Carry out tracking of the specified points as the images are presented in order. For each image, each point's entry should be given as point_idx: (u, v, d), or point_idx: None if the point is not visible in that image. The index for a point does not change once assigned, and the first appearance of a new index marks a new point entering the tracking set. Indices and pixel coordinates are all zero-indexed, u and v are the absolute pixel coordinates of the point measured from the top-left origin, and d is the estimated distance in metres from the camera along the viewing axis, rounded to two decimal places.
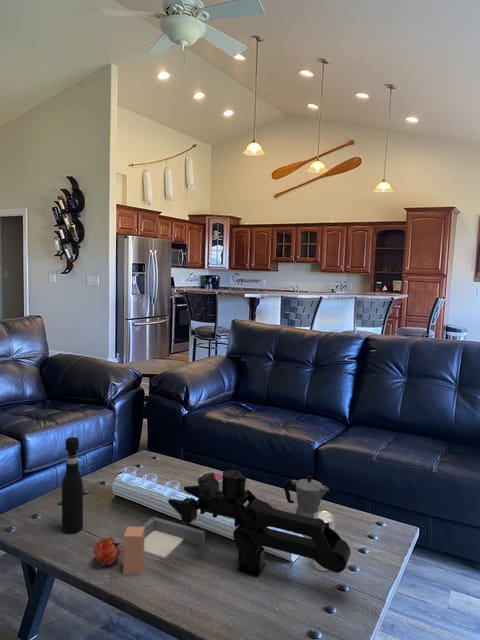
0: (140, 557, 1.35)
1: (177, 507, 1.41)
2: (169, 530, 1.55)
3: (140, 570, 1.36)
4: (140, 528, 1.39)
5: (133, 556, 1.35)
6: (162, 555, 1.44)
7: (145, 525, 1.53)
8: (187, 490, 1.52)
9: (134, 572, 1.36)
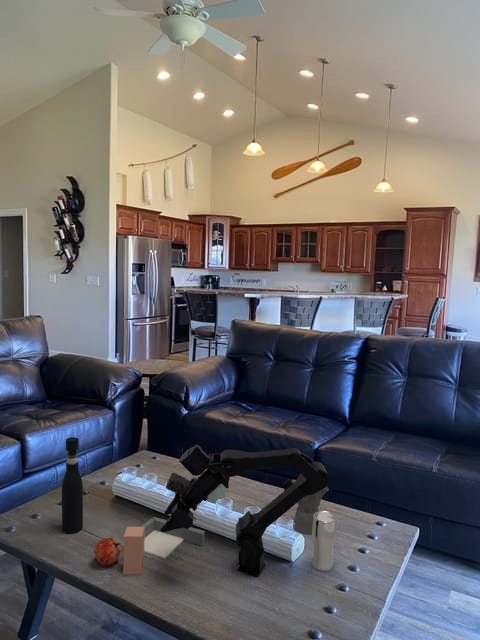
0: (140, 557, 1.35)
1: (172, 525, 1.31)
2: None
3: (140, 570, 1.36)
4: (140, 528, 1.39)
5: (133, 556, 1.35)
6: (162, 555, 1.44)
7: (145, 525, 1.53)
8: (169, 512, 1.42)
9: (134, 572, 1.36)
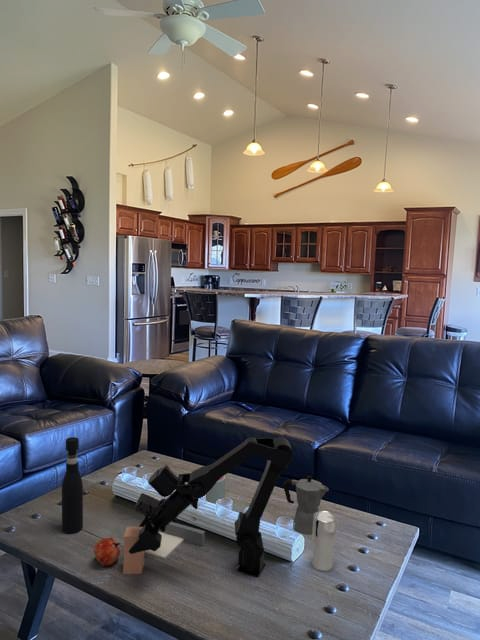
0: (140, 557, 1.35)
1: (140, 547, 1.32)
2: (169, 530, 1.55)
3: (140, 570, 1.36)
4: (140, 528, 1.39)
5: (133, 556, 1.35)
6: (162, 555, 1.44)
7: None
8: None
9: (134, 572, 1.36)
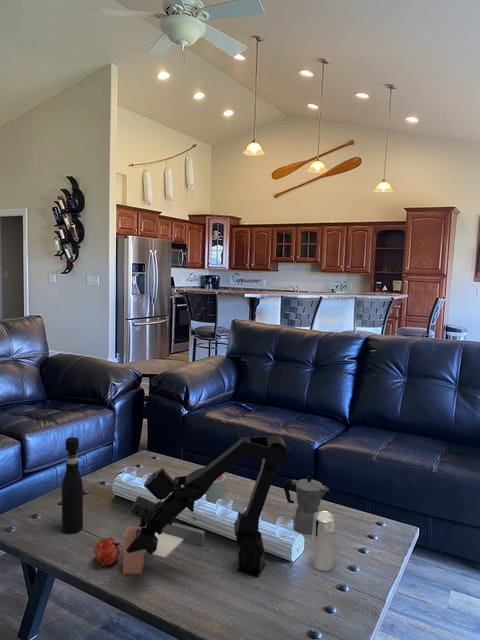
0: (140, 557, 1.35)
1: (138, 546, 1.34)
2: (169, 530, 1.55)
3: (140, 570, 1.36)
4: (140, 528, 1.39)
5: (133, 556, 1.35)
6: (162, 555, 1.44)
7: None
8: None
9: (133, 572, 1.36)
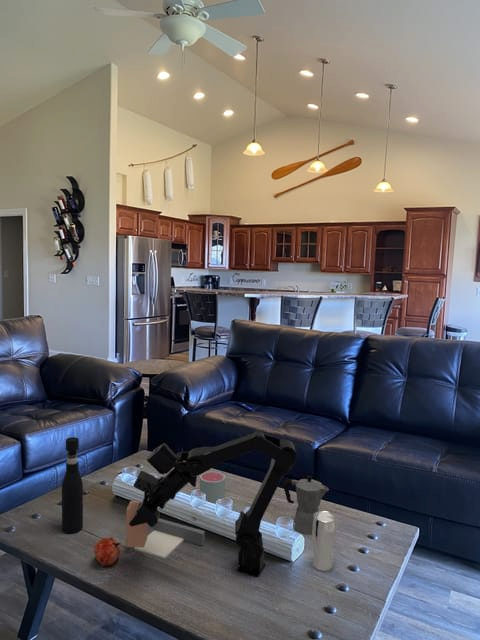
0: (142, 531, 1.36)
1: (140, 520, 1.34)
2: (169, 530, 1.55)
3: (142, 544, 1.36)
4: None
5: (135, 530, 1.36)
6: (162, 555, 1.44)
7: None
8: None
9: (136, 545, 1.37)
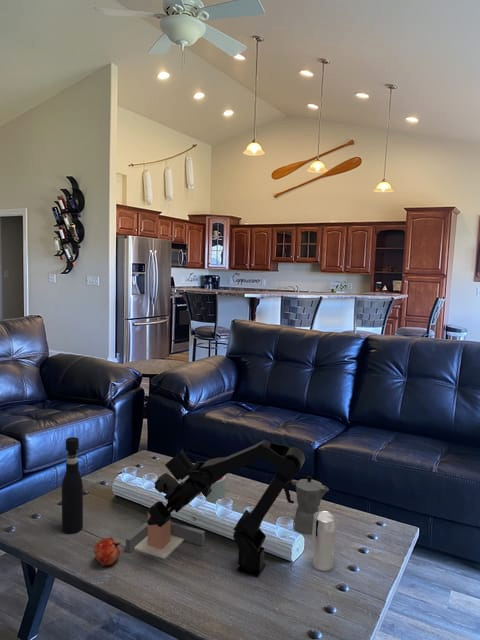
0: (160, 534, 1.46)
1: (154, 520, 1.43)
2: None
3: (160, 546, 1.47)
4: None
5: (155, 531, 1.47)
6: (162, 555, 1.44)
7: (145, 525, 1.53)
8: None
9: (155, 546, 1.47)
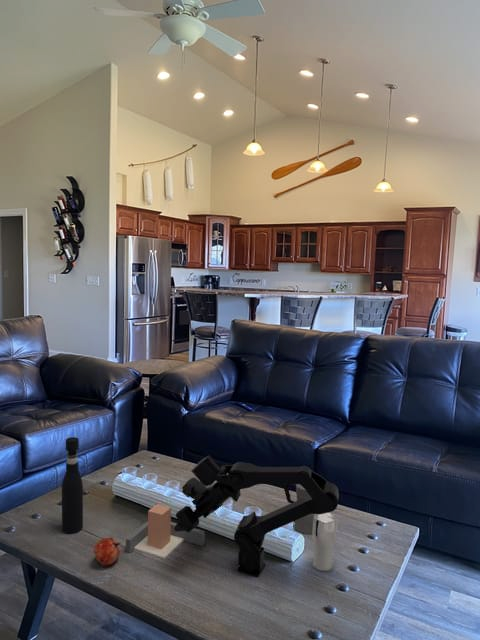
0: (160, 534, 1.46)
1: (181, 526, 1.40)
2: None
3: (160, 546, 1.47)
4: (166, 507, 1.50)
5: (155, 531, 1.47)
6: (162, 555, 1.44)
7: (145, 525, 1.53)
8: None
9: (155, 546, 1.47)
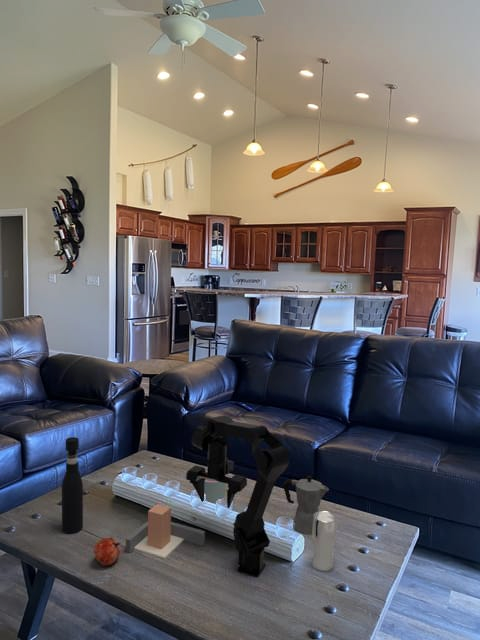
0: (160, 534, 1.46)
1: None
2: None
3: (160, 546, 1.47)
4: (166, 507, 1.50)
5: (155, 531, 1.47)
6: (162, 555, 1.44)
7: (145, 525, 1.53)
8: None
9: (155, 546, 1.47)
